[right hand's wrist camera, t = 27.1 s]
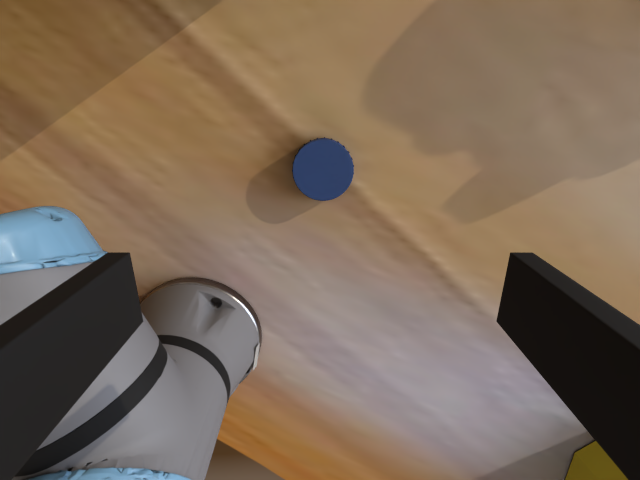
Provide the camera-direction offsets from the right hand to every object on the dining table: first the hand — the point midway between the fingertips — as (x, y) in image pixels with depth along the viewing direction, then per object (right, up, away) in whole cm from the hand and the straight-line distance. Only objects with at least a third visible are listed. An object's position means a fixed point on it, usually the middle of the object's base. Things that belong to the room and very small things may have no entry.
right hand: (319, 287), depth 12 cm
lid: (0, +9, +23) cm, 25 cm away
